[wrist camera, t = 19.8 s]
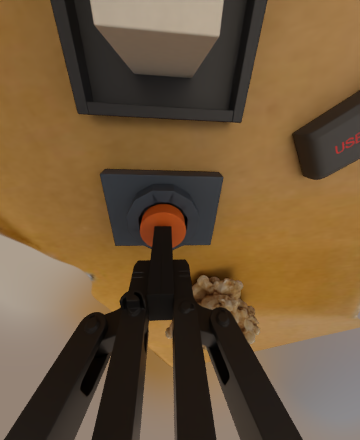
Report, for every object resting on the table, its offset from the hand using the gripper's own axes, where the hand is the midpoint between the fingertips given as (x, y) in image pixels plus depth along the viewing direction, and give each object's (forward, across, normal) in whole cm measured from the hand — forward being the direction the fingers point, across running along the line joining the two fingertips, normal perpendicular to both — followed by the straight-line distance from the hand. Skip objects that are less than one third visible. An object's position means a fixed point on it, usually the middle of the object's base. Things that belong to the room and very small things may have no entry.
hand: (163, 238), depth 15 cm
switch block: (+6, 0, 0) cm, 6 cm away
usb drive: (+6, +19, +10) cm, 22 cm away
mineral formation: (+6, +7, -18) cm, 20 cm away
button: (+3, 0, 0) cm, 3 cm away
